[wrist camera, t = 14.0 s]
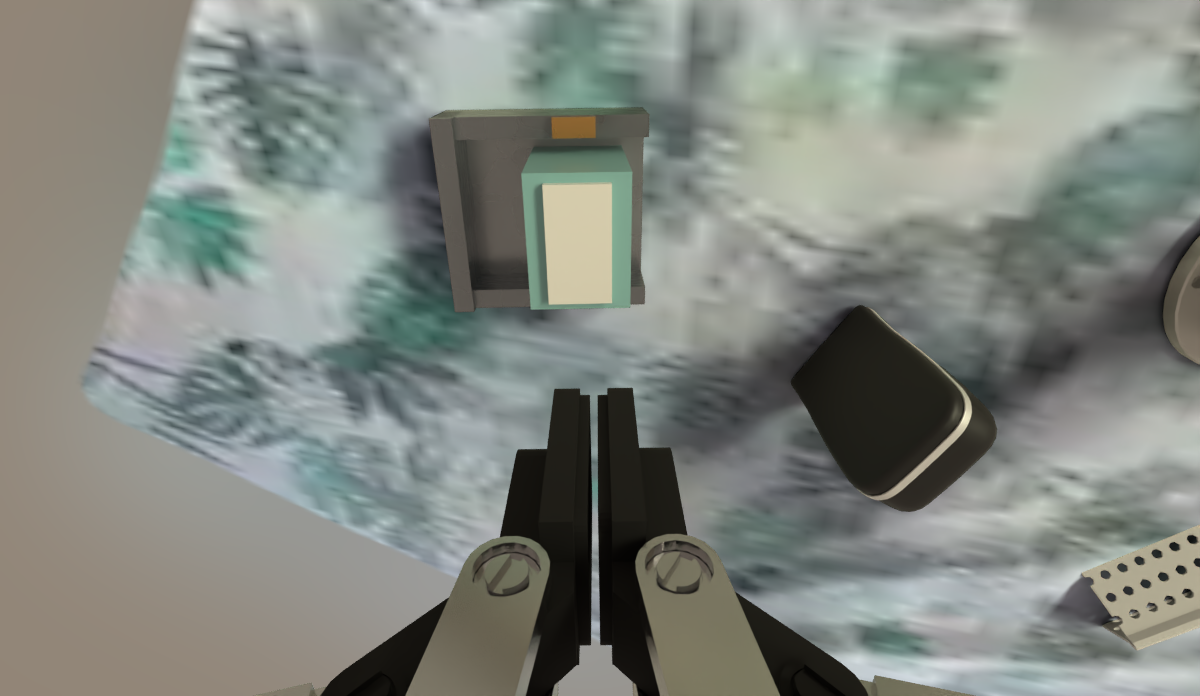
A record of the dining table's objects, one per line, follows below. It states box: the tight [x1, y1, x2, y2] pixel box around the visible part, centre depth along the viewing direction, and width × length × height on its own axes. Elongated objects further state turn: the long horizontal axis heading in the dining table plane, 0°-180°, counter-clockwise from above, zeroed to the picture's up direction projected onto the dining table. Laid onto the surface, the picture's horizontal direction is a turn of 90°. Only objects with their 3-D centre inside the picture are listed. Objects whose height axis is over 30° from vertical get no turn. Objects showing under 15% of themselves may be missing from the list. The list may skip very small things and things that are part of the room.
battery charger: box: [791, 305, 997, 512], centre depth 32 cm, size 7×4×11 cm, turn 148°
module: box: [521, 145, 632, 310], centre depth 28 cm, size 4×6×7 cm
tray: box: [429, 107, 649, 312], centre depth 30 cm, size 10×10×4 cm
